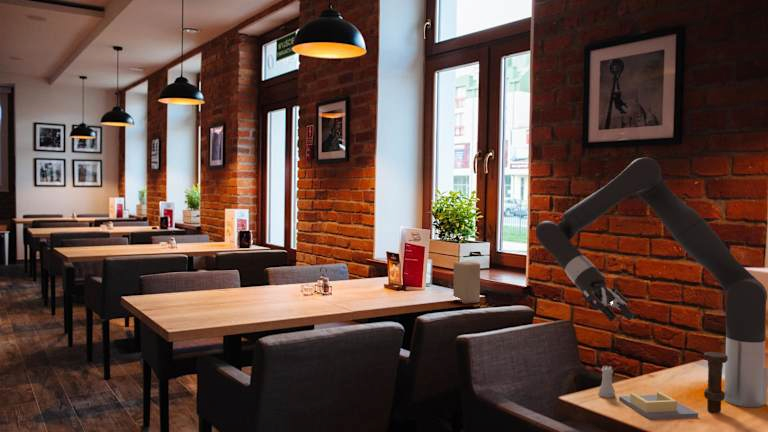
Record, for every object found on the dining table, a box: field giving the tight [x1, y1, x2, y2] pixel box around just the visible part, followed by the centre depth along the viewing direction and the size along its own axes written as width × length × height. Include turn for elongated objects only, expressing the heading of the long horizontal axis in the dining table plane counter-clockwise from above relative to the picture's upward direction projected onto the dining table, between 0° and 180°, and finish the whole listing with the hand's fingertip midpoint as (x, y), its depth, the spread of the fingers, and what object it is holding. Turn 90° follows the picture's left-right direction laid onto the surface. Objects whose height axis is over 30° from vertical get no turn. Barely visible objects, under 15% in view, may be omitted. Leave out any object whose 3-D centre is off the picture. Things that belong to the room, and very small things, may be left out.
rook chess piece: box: [598, 365, 616, 399], centre depth 179 cm, size 4×4×8 cm
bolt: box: [703, 351, 728, 414], centre depth 166 cm, size 6×5×15 cm
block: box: [452, 260, 481, 304], centre depth 327 cm, size 10×10×20 cm
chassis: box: [618, 391, 699, 421], centre depth 169 cm, size 13×15×4 cm
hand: (623, 318), depth 172 cm, fingers open, 8 cm apart
